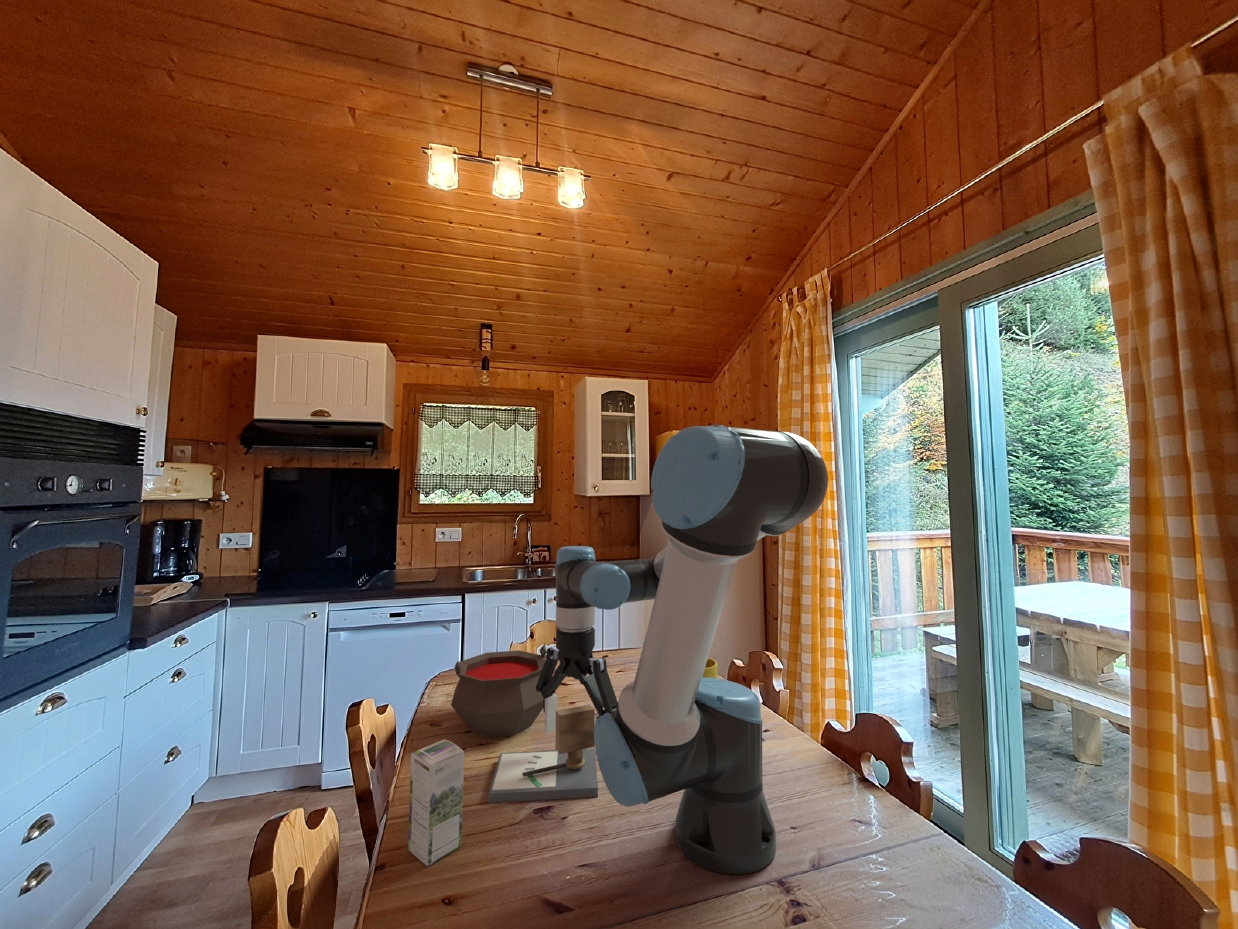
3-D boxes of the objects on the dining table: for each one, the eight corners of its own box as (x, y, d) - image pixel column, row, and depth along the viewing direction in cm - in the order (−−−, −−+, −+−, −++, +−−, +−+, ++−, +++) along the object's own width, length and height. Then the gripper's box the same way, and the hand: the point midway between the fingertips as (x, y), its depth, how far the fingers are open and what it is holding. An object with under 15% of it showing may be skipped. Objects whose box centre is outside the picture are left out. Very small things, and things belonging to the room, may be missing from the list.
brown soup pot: (527, 695, 134) (528, 633, 135) (572, 729, 115) (572, 656, 116) (435, 718, 121) (436, 649, 122) (468, 761, 101) (469, 677, 102)
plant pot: (683, 709, 125) (682, 669, 126) (673, 693, 135) (673, 656, 136) (723, 707, 127) (722, 667, 127) (710, 691, 137) (710, 654, 137)
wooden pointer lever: (589, 755, 99) (589, 703, 99) (595, 764, 95) (595, 710, 96) (520, 771, 93) (521, 715, 94) (525, 781, 90) (525, 723, 90)
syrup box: (441, 831, 80) (443, 736, 81) (463, 847, 76) (464, 748, 77) (407, 851, 75) (409, 750, 76) (428, 869, 71) (430, 763, 72)
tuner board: (597, 796, 89) (597, 785, 89) (488, 802, 87) (488, 791, 87) (594, 756, 103) (594, 746, 103) (500, 761, 101) (500, 751, 101)
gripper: (638, 633, 92) (639, 754, 91) (546, 614, 108) (546, 716, 106) (611, 643, 86) (612, 771, 85) (518, 621, 102) (517, 729, 101)
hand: (575, 741), depth 96 cm, fingers open, 13 cm apart
